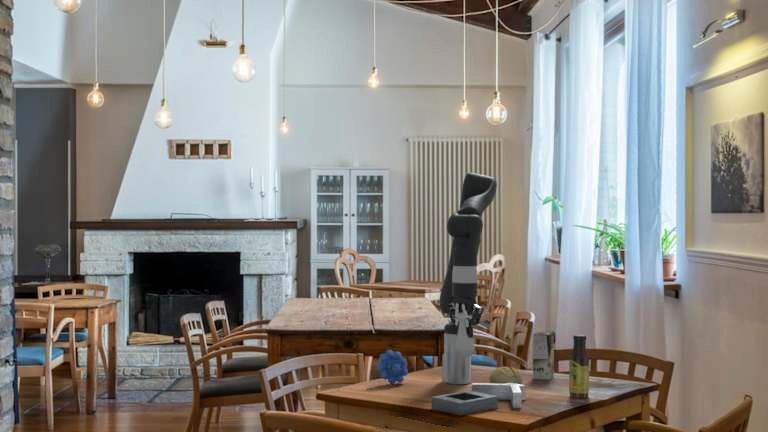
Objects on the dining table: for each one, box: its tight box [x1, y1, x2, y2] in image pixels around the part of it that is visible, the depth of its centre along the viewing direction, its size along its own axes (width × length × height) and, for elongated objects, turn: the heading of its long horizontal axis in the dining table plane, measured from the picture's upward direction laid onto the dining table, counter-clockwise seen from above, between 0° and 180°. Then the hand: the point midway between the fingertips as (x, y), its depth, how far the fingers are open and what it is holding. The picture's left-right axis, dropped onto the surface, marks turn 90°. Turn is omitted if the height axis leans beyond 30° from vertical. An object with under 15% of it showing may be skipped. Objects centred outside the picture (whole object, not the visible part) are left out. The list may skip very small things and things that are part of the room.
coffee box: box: [532, 331, 555, 381], centre depth 302 cm, size 9×6×16 cm
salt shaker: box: [455, 313, 476, 357], centre depth 249 cm, size 6×6×13 cm
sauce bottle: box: [568, 333, 590, 399], centre depth 267 cm, size 7×6×20 cm
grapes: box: [376, 349, 409, 385], centre depth 287 cm, size 12×7×12 cm, turn 115°
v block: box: [471, 382, 526, 409], centre depth 260 cm, size 12×20×4 cm, turn 40°
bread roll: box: [489, 366, 523, 385], centre depth 277 cm, size 10×15×8 cm, turn 17°
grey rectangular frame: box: [430, 389, 499, 416], centre depth 249 cm, size 12×16×4 cm
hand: (464, 338), depth 249 cm, fingers closed on salt shaker, 3 cm apart
